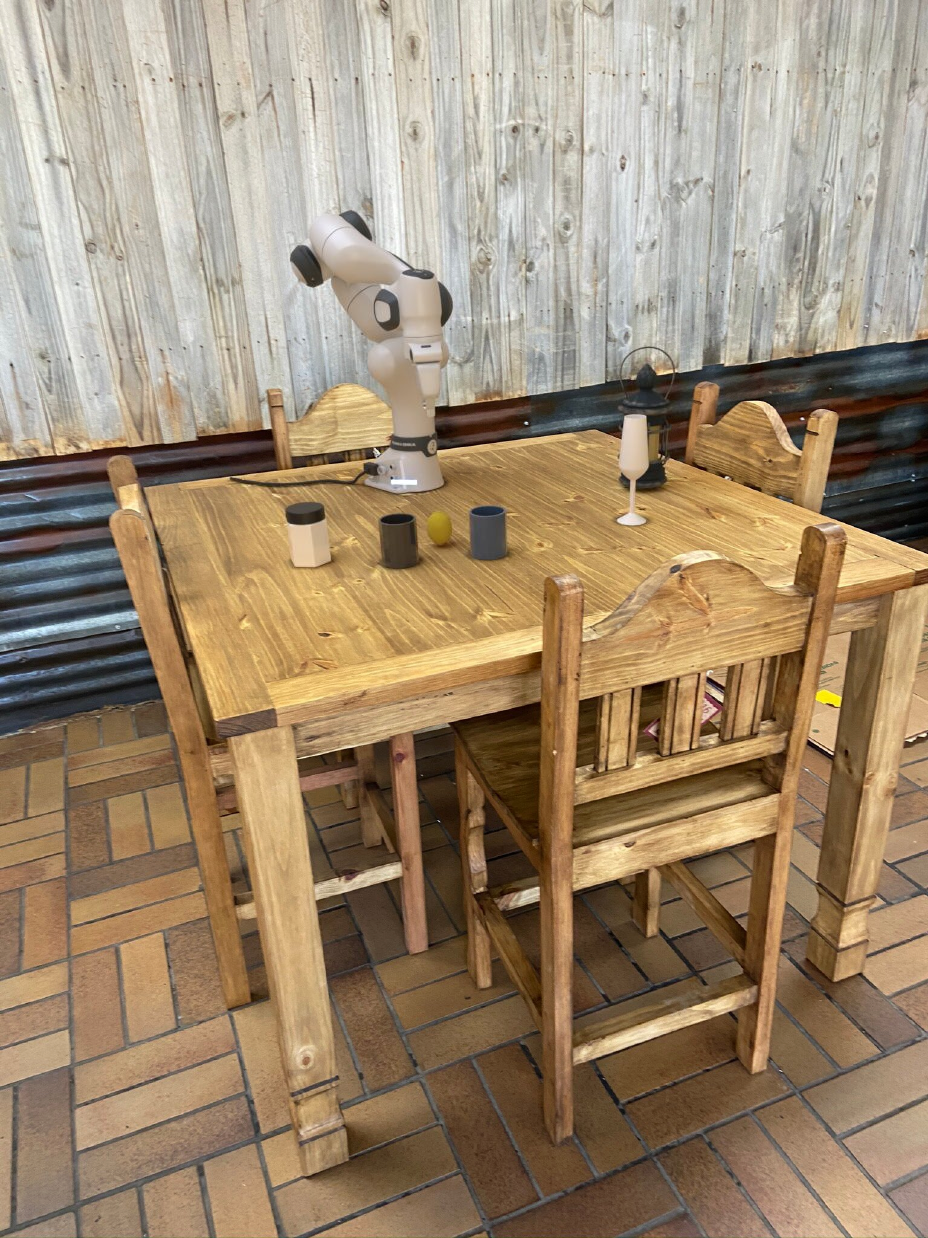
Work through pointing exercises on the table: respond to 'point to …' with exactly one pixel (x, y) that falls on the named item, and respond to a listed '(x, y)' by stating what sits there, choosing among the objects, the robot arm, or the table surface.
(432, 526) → the lemon
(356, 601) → the table surface
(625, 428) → the champagne flute
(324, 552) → the jar
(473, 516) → the slate cup
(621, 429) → the lantern
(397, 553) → the charcoal cup
